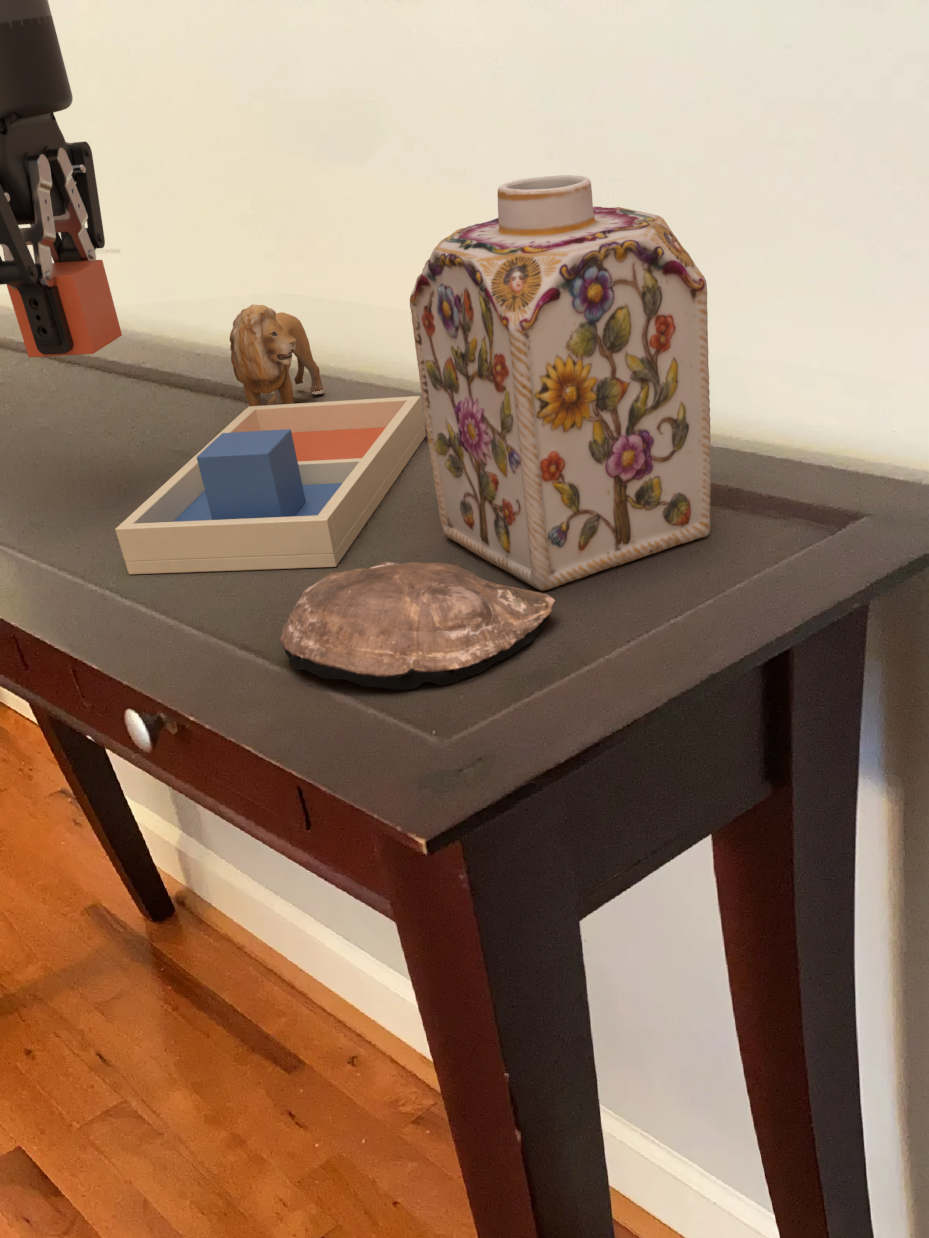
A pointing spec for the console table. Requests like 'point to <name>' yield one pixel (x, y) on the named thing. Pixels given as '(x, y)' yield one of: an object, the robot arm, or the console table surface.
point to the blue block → (252, 475)
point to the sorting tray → (332, 482)
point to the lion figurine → (270, 354)
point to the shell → (409, 624)
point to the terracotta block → (77, 308)
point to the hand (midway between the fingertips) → (74, 340)
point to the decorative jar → (565, 384)
